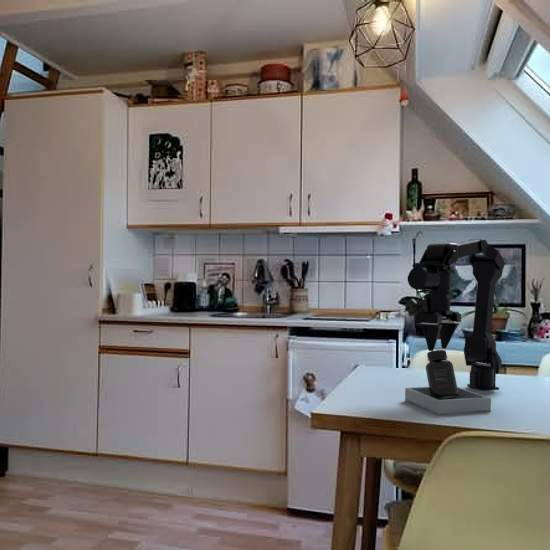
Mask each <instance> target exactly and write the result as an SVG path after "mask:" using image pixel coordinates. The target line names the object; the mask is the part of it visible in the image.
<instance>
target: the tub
mask: <svg viewBox="0 0 550 550" xmlns="http://www.w3.org/2000/svg"><path fill="white" fill-rule="evenodd" d="M457 388H458V393H459V396H458V398H455V399H447V400H438V399H435V398H433V397H431V395H430V390H429V386H422V387H421V386H418V387H417V386H416V387H415V386H414V387H405V389H404V390H405V391H404V392H405V393H404V394H405V395H404V396H405V398H404V401H405V402H406V403H408V404H411V405H412V406H415V407H418V408H420V409H423V410H425V411H427V412H430V413H431V414H434V415H436V416H447V415H458V414H459V415H460V414H462V415H463V414H475V413H486V412H487V411H488V412H492V411H491V409H492V405H491V404H492V398H491V397H489V396H485V395H482V394H481V393H477V392H473V391H472V390H467V389H465V388H462V387H458V386H457ZM488 412H487V413H488Z"/></svg>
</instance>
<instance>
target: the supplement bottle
mask: <svg viewBox="0 0 550 550" xmlns="http://www.w3.org/2000/svg"><path fill="white" fill-rule="evenodd" d="M426 356H427V361H428V363H427V364H426V366H425V372H426V378H427V383H428V387H429V390H430V395H431V397H433V398H435V399H438V400H447V399H455V398H458V396H459V393H458V388H457V387H458V383H457V380H456V374H455V373H456V372H455V370H454V364H453V363H452V362H451V361H450V360H448V355H447V351H446V350H444V349H436V350H433V351H429V352H427V353H426Z"/></svg>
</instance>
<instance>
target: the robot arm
mask: <svg viewBox="0 0 550 550" xmlns="http://www.w3.org/2000/svg"><path fill="white" fill-rule="evenodd" d="M467 256H468V258H467V261H468V264H470V266H471V267H472V275H473V276H474V279H475V281H476V282H477V283H476V294H475V306H474V316H473V317H474V318H473V329H472V332H470V334H469V335H466V336H465V338H464V347H463V356H464V360H465V365H466V367H467V366H468V367H470V371H469V383H467V384H466V386H467V387H470V388H473V389H476V390H479V391H491V390H500V387H499V386H496V376H497V375H496V373H497V372H496V371H497V370H500V369H501V368H502V363H503V361H502V359H501V357H500V355H499V353H498V351H497V343H496V341H495V339H494V337H493V334H492V324H493V323H492V322H493V316H494V315H493V314H494V313H493V312H494V303H495V302H494V301H495V300H494V299H495V289H496V284H497V283H498V282H499V281H500V279H501V278H502V276H503V272H504V268H505V259H504V257H503V256H502V254H501V252H500V251H499V250H498V249H496V248H495V247H493V246H492V245H490V244H489V242H488V241H487V240H486V239H483V238H472V239H468V240H465V241H459V242H456V243H451V242H450V243H449V242H448V243H445V242H444V243H429V244H428V245H427V246H426V249H425V250H424V253H423V254H422V256H421V258H420V261H419V262H415V263H414V267H413V268H411V270H410V271H409V273H408V275H407V283H408V285H409V287H411V288H412V289H414V290H421V291H423V290H424V291H427V293H425V294H424V295H423V299H422V300H421V299H420V300H415V299H414V298H410V299H407V300H406V303H405V305H404V306H405V308H404V310H405V312H407V314H408V316H409V317H413V323H416V324H415V325H416V326H418V327H419V328H420V329H421V330H422V332H423V334H424V338H425V342H426V346H427V349H428V351H429V352H431V351H435V350H434V349H435V347H436V346H437V345H436V344H437V342H438V338H439V337H440V346H441V349H442V350H444V349H447V347H448V345H449V343H450V341H451V340H452V338H453V335H454V333H456V332H455V331H456V330H457V328H458V327H459V325H460V323H461V322H462V314H461V313H460V312H459V311H453V310H451V300H453V299H454V295H453V294H452V293H451V290H452V289H451V287H452V285H451V284H452V275H455V274H456V272H455V271H456V270H454V269H453V268H452V267H451V266H452V265H454V264H456V263H457V262H458V261H459V259H460V258H463V257H467Z"/></svg>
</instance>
